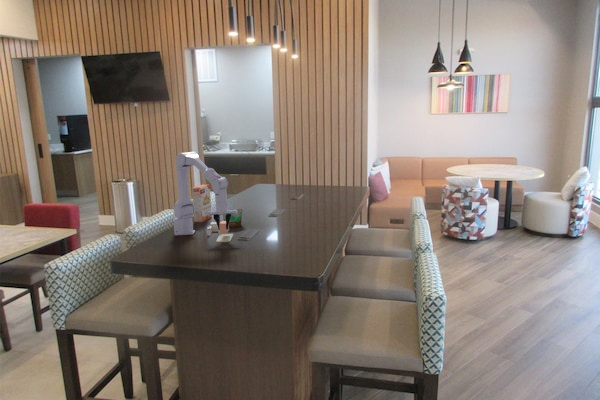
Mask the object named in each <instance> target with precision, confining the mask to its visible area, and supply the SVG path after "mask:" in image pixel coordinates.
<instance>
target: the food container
mask: <svg viewBox="0 0 600 400" xmlns="http://www.w3.org/2000/svg"><path fill="white" fill-rule="evenodd" d="M230 210H237V215H235V214H232V215H231V218H230V221H229V229H230V228H231V229H232V228H233V227H235V228H239V227H241V226H242V218H243V217H242V215H243V213H244V210H243V208H242V207H240V208H239V209H236V208H235V209H230ZM225 216H226V215H222V221H226V218H225ZM233 229H234V228H233Z"/></svg>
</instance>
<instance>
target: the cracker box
mask: <svg viewBox="0 0 600 400" xmlns="http://www.w3.org/2000/svg"><path fill="white" fill-rule="evenodd" d="M191 193H192V195H191V196H192V201H193V205H194V208H195V212H194V214H193V221H194V223H204V222H206V221H207V220H209V219H211V218H213V217H212V216H213V215H210V216H207V212H208V211H212V199H211V185H210V184H207V183H206V184H199V185H196V186H194V187H191Z"/></svg>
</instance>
